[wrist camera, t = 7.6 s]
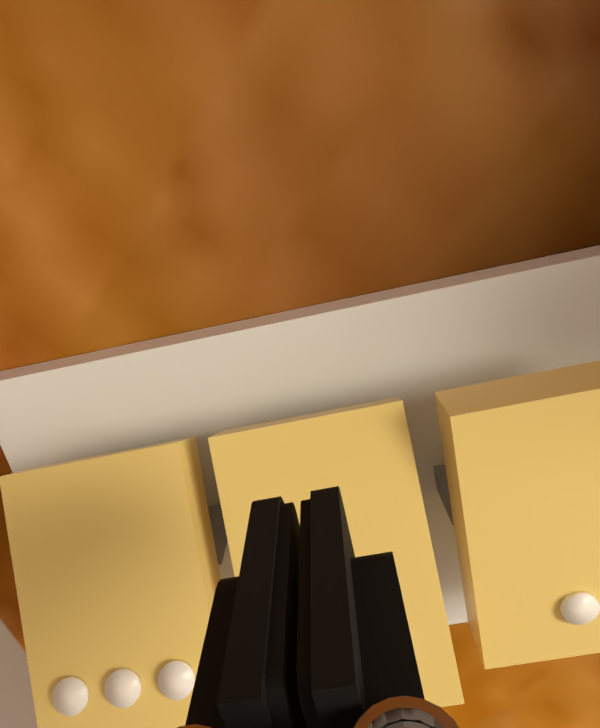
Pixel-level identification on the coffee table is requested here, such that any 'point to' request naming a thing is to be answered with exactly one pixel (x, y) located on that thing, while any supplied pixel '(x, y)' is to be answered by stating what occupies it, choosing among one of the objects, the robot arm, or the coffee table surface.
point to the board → (315, 376)
